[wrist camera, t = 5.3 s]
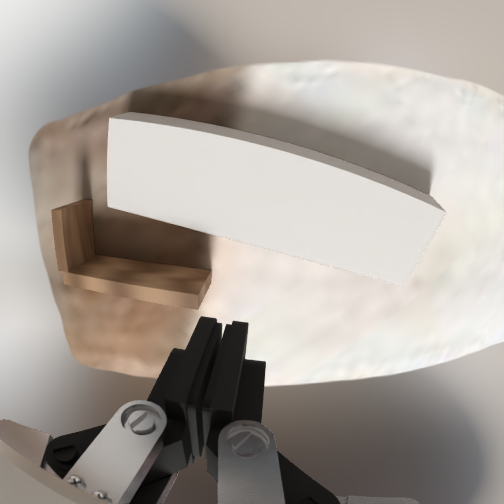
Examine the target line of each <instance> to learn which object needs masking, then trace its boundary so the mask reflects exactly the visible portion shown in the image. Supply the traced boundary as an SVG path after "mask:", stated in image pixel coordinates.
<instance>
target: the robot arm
mask: <svg viewBox="0 0 504 504" xmlns="http://www.w3.org/2000/svg"><path fill="white" fill-rule="evenodd" d="M247 334H248V323H246V322H238V321H233V322H232V325H230V324H226V327H225V330H224V333H223V337H222V323H217V319H216V318H209V317H203V316H201V317H200V319H199V321H198V323H197V325H196V328H195V330H194V332H193V334H192V336H191V339H190V341H189V343H188V345H187V347H186V350H183V349H177V348H174V349H173V350H172V351H171V353H170V355H169V357H168V359H167V361H166V363H165V365H164V367H163V369H162V371H161V373H160V375H159V377H158V379H157V381H156V383H155V385H154V387H153V389H152V391H151V393H150V395H149V397H148V399H147V401H146V400H136V401H131V402H129V403H127V404H124V405H123V406H122V407H121V408H120V409H119V410H118V411H117V412H116V413H115V415H114V416H113V417H112V418H111V420H110V421H109V422H108V423H107V424H105V425H101V426H98V427H94V428H91V429H87V430H83V431H79V432H76V433H71V434H67V435H63V436H60V437H57V438H54V437H52V436H51V435H50V434H48V433H45V432H42V431H38V430H35V429H32V428H29V427H26V426H24V425H21V424H18V423H15V422H13V421H10V420H5V419H4V420H0V504H163V502H164V500H165V498H166V496H167V494H168V492H169V491H170V489H171V487H172V485H173V483H174V481H175V479H176V477H177V474H178V471H180V470H182V469H184V468H187V466H188V463H192V464H193V462H194V459H195V456H196V457H201V455H202V451H203V447H205V458H207V470H208V472H209V474H211V476H212V477H213V478H214V479H215V480H216V481H217V483H218V504H419V503H418V502H417V501H415V500H414V499H410V498H375V497H359V496H348V497H347V498H345V497H336V496H334V495H333V494H332V493H331V492H330V491H328V490H327V489H325V488H324V487H323V486H321V485H320V484H319V483H317V482H316V481H315V480H313V479H312V478H311V477H309V476H308V475H307V474H305V473H304V472H303V471H301V470H300V469H299V468H298V467H296V466H295V465H294V464H293V463H291V462H290V461H289V460H288V459H287V458H285V457H284V456H283V455H282V454H281V453H279V452H278V451H277V448H276V442H275V439H274V435H273V433H272V432H271V431H270V430H269V428H267V427H266V426H264V425H263V424H261V419H262V407H263V393H264V381H265V368H266V362H265V361H256V360H247V359H245V354H246V344H247Z"/></svg>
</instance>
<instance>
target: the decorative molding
mask: <svg viewBox="0 0 504 504" xmlns="http://www.w3.org/2000/svg"><path fill="white" fill-rule="evenodd" d="M107 203H108V207H111V208H115V209H118V210H122V211H126V212H130V213H134V214H137V215H141V216H145V217H149V218H152V219H156V220H160V221H164V222H167V223H171V224H175V225H178V226H182V227H186V228H190V229H193V230H197V231H201V232H204V233H208V234H212V235H216V236H219V237H223V238H227V239H230V240H234V241H238V242H241V243H245V244H249V245H252V246H256V247H260V248H263V249H267V250H271V251H274V252H278V253H281V254H285V255H289V256H292V257H296V258H300V259H303V260H307V261H310V262H314V263H318V264H321V265H325V266H328V267H332V268H336V269H339V270H343V271H346V272H350V273H354V274H357V275H361V276H364V277H368V278H371V279H375V280H378V281H382V282H386V283H389V284H393V285H396V286H400V287H403V286H404V284H405V283H406V281H407V280H408V278H409V277H410V275H411V273H412V272H413V270H414V269H415V267H416V265H417V264H418V262H419V261H420V259H421V257H422V256H423V254H424V252H425V251H426V249H427V247H428V245H429V244H430V242H431V240H432V238H433V237H434V235H435V233H436V231H437V229H438V227H439V226H440V224H441V222H442V220H443V218H444V216H445V214H446V211H445V210H444V209H443V208H442V207H441V206H440V205H439V204H438V203H437V202H436V200H435V199H434V198H433V197H431V196H430V195H427V194H425V193H423V192H421V191H419V190H417V189H414V188H412V187H410V186H408V185H405V184H403V183H401V182H398V181H396V180H394V179H391V178H389V177H386V176H384V175H381V174H379V173H376V172H374V171H371V170H369V169H366V168H363V167H361V166H358V165H355V164H352V163H350V162H347V161H344V160H341V159H338V158H335V157H332V156H329V155H326V154H323V153H320V152H317V151H314V150H311V149H307V148H304V147H301V146H297V145H294V144H291V143H287V142H284V141H280V140H276V139H273V138H269V137H265V136H261V135H257V134H253V133H249V132H245V131H240V130H236V129H231V128H227V127H222V126H217V125H212V124H207V123H202V122H197V121H191V120H185V119H179V118H173V117H166V116H159V115H152V114H144V113H135V112H128V113H124V114H121V115H118V116H114V117H111V118H109V132H108V153H107Z"/></svg>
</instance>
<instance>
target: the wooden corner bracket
mask: <svg viewBox="0 0 504 504" xmlns="http://www.w3.org/2000/svg"><path fill="white" fill-rule="evenodd" d="M52 222H53V233H54V242H55V250H56V257H57V264H58V270H59V271H62V274H63V279H64V284H66V285H71V286H75V287H79V288H84V289H88V290H93V291H97V292H102V293H107V294H112V295H117V296H122V297H127V298H132V299H137V300H143V301H148V302H154V303H160V304H166V305H172V306H178V307H184V308H191V309H197V310H198V309H199V307H200V305H201V303H202V301H203V299H204V296H205V294H206V292H207V290H208V288H209V286H210V284H211V270H206V269H198V268H190V267H182V266H174V265H166V264H159V263H151V262H144V261H136V260H129V259H122V258H115V257H108V256H101V255H95V244H94V231H93V214H92V200H80V201H77V202H74V203H71V204H68V205H65V206H62V207H59V208H56V209H53V210H52Z"/></svg>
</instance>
